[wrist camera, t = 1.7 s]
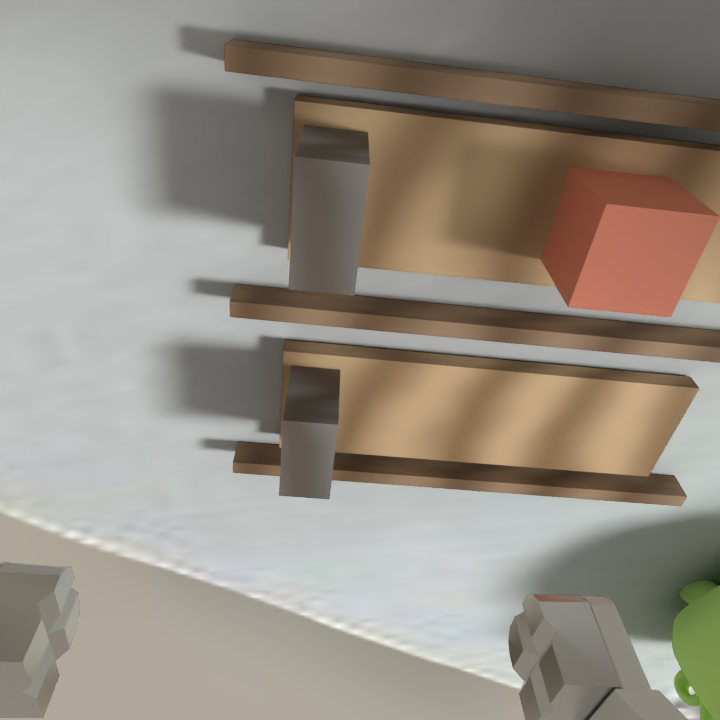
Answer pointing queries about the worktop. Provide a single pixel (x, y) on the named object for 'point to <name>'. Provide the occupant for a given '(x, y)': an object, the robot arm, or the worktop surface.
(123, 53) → the worktop surface
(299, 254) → the strip
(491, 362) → the strip
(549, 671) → the robot arm
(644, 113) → the lane rails
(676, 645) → the teapot
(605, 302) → the cube
